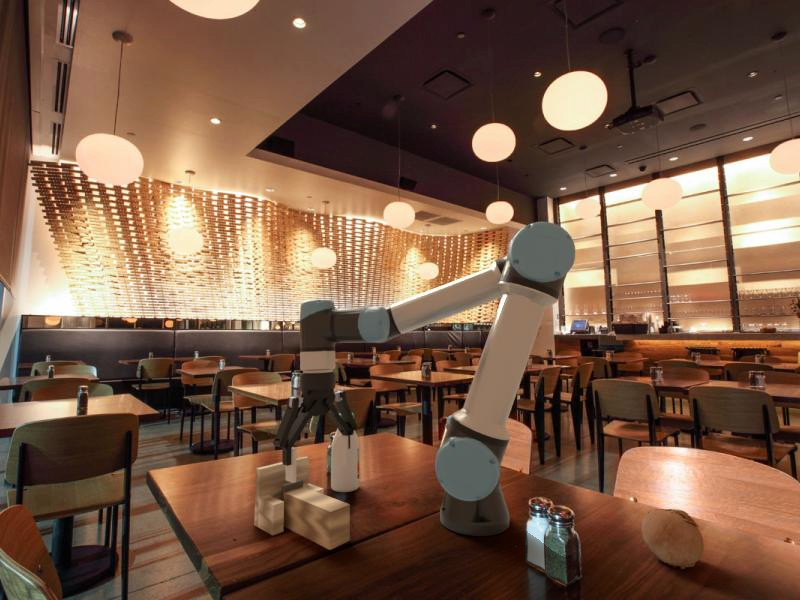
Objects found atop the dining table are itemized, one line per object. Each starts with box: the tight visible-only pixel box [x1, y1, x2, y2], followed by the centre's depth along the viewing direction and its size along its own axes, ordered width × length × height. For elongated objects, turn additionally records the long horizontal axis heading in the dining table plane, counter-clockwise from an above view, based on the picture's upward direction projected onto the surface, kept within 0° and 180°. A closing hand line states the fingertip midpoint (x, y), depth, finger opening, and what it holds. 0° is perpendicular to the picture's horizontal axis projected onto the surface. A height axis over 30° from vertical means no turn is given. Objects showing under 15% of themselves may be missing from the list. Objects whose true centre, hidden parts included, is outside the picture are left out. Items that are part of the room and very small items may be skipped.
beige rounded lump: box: [640, 508, 705, 570], centre depth 75 cm, size 10×9×10 cm
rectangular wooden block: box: [282, 480, 351, 551], centre depth 88 cm, size 17×5×8 cm, turn 48°
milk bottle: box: [330, 412, 360, 493], centre depth 115 cm, size 8×8×20 cm
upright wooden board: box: [253, 456, 325, 536], centre depth 94 cm, size 8×13×12 cm, turn 138°
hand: (318, 473), depth 88 cm, fingers open, 13 cm apart
